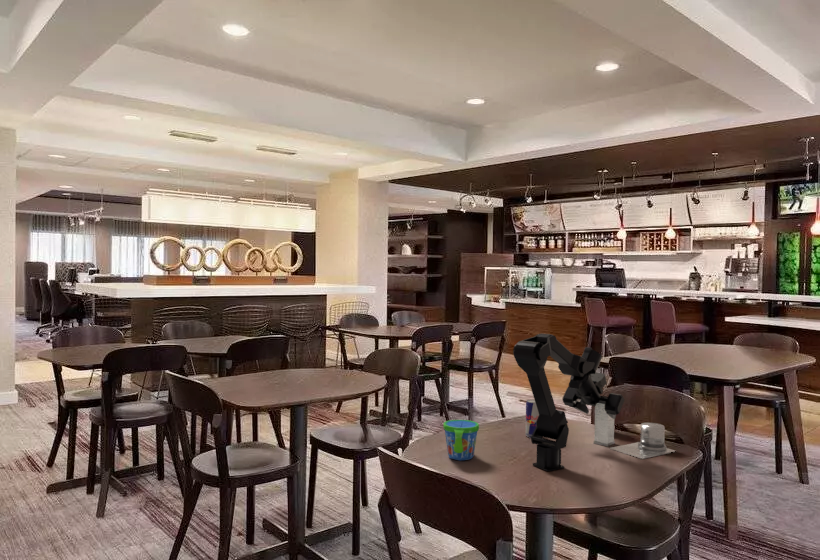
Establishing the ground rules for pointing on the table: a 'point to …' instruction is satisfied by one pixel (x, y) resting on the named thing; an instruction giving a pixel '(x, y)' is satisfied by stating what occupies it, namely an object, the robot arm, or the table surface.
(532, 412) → the energy drink
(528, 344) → the robot arm
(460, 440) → the snack cup
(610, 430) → the duct elbow
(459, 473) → the table surface
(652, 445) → the duct flange
